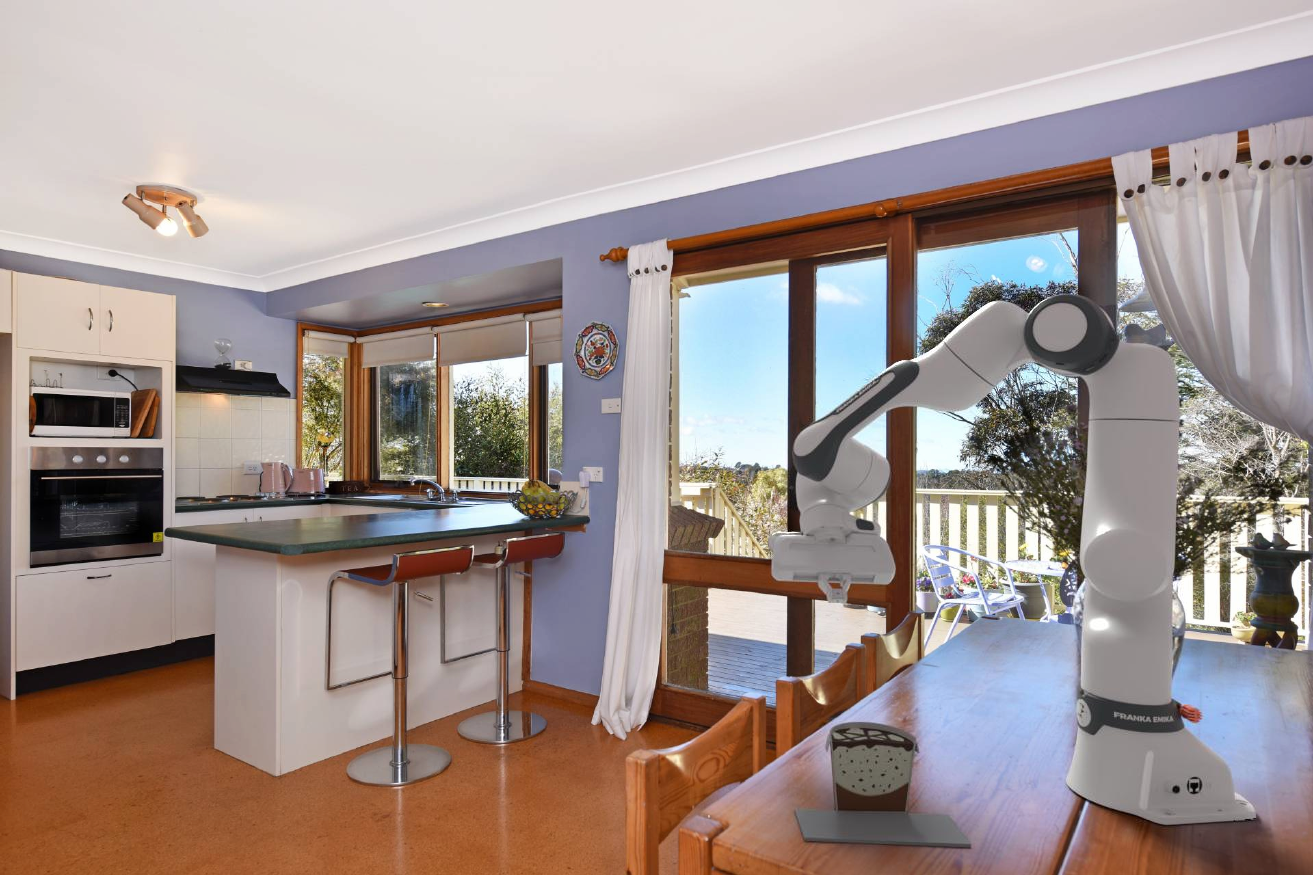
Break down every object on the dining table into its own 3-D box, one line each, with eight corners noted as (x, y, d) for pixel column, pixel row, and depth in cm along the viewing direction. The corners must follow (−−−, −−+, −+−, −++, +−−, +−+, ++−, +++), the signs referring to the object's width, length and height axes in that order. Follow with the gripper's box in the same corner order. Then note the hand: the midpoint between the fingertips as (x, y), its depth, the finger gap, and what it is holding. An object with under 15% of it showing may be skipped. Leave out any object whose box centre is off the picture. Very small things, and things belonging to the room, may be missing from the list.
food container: (901, 793, 107) (903, 720, 107) (918, 814, 101) (919, 737, 101) (813, 791, 106) (815, 719, 107) (825, 812, 100) (826, 735, 100)
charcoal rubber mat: (948, 817, 100) (948, 814, 100) (970, 847, 92) (970, 843, 92) (794, 811, 100) (794, 808, 100) (804, 840, 93) (804, 837, 93)
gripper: (769, 520, 131) (775, 587, 121) (889, 524, 131) (905, 591, 121) (765, 543, 136) (770, 609, 126) (881, 546, 135) (896, 614, 125)
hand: (837, 601), depth 123 cm, fingers closed
